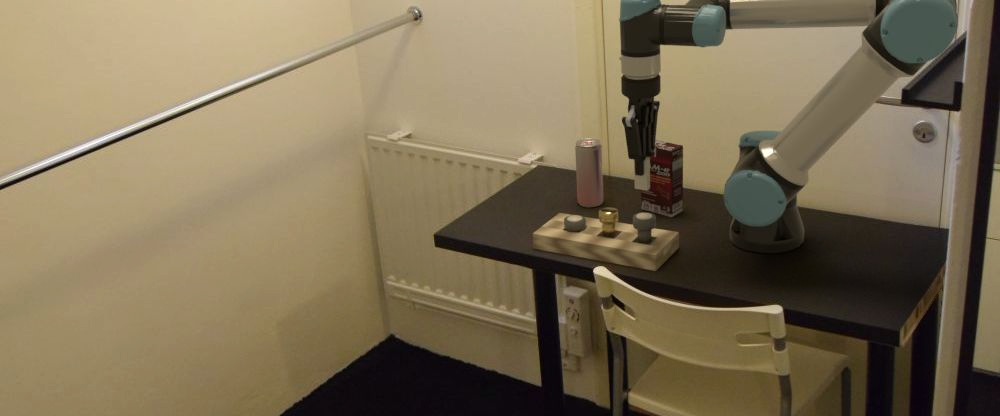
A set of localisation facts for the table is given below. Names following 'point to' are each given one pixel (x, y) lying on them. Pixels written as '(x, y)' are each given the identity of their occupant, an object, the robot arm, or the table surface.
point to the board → (607, 243)
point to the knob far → (575, 223)
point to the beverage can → (589, 172)
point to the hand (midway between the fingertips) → (642, 188)
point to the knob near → (644, 226)
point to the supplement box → (665, 180)
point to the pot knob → (608, 221)
